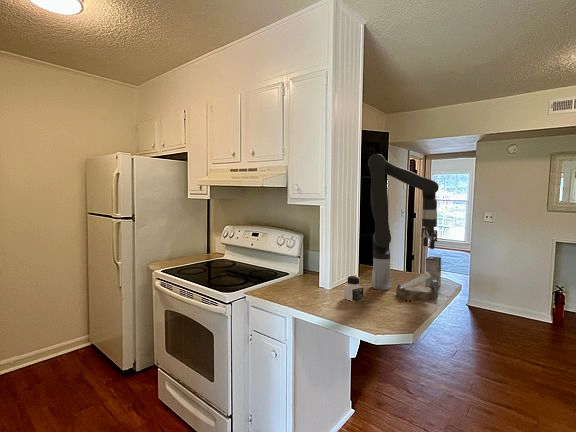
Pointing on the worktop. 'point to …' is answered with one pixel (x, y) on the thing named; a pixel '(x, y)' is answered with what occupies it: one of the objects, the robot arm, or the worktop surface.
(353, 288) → the medicine bottle
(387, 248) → the robot arm
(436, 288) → the dark grey block
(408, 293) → the walnut block
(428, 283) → the coffee box
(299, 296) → the worktop surface
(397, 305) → the worktop surface
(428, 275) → the clamp strap
